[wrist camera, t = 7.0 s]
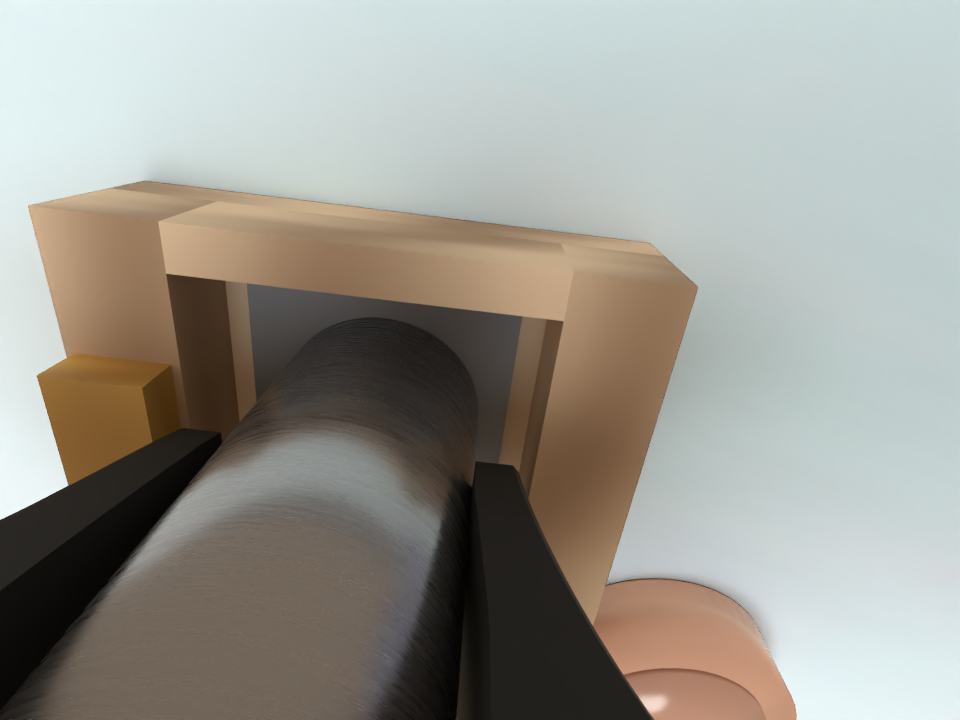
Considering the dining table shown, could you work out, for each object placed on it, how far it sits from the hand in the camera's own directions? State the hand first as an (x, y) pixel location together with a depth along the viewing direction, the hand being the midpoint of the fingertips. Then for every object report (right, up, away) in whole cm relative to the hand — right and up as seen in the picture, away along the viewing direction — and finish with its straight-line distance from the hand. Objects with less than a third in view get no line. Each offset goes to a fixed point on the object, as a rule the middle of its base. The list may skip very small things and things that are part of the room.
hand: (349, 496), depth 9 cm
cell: (0, +1, +2) cm, 3 cm away
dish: (+7, -7, +7) cm, 12 cm away
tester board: (0, -2, +5) cm, 5 cm away
